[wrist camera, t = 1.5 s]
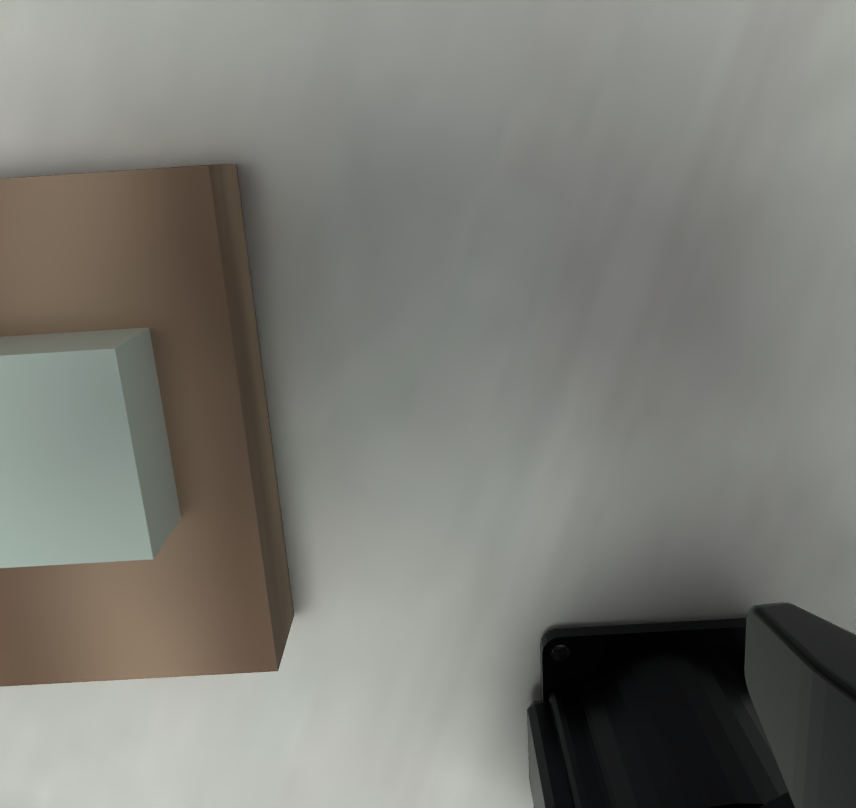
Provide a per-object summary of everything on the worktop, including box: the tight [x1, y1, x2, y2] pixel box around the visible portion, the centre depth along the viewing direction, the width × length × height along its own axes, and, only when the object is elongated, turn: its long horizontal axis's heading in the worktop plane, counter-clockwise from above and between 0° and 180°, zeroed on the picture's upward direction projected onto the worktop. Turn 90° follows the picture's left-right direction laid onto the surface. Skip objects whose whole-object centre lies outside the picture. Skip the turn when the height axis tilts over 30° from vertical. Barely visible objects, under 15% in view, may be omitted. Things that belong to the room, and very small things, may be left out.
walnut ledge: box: [0, 164, 294, 686], centre depth 19 cm, size 12×12×2 cm
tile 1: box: [0, 327, 181, 568], centre depth 17 cm, size 4×4×2 cm
